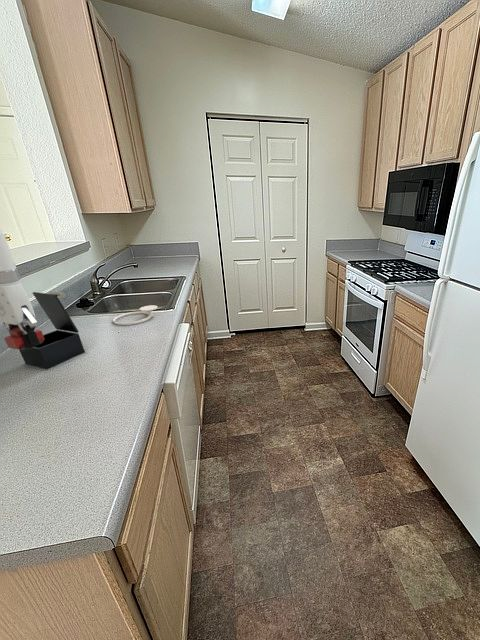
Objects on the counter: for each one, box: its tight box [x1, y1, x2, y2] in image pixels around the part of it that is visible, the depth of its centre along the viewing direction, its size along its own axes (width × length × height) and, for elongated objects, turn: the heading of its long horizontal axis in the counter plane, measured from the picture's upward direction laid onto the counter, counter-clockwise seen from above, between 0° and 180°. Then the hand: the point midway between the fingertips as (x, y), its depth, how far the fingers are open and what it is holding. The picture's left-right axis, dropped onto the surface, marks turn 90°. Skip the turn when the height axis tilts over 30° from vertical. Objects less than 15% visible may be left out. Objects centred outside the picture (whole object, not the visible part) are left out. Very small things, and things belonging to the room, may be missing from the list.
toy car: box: [4, 325, 45, 351], centre depth 89 cm, size 7×4×5 cm, turn 159°
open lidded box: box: [18, 329, 86, 370], centre depth 119 cm, size 14×11×8 cm
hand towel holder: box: [112, 304, 158, 326], centre depth 158 cm, size 17×4×21 cm
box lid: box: [32, 290, 80, 334], centre depth 120 cm, size 15×11×5 cm
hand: (27, 344), depth 90 cm, fingers closed on toy car, 4 cm apart
